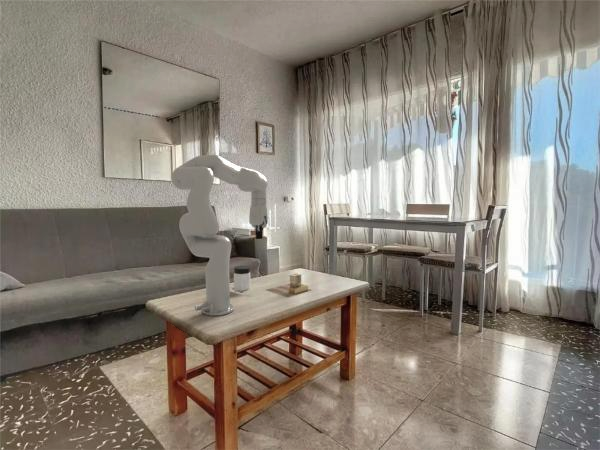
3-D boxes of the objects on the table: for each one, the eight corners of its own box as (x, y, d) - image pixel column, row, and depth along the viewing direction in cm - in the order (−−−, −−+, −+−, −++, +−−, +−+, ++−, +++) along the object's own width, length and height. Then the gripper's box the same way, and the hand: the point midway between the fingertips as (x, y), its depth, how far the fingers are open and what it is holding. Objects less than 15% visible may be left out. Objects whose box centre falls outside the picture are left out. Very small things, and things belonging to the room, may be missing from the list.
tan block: (294, 292, 151) (294, 276, 150) (289, 290, 153) (289, 274, 153) (301, 290, 154) (301, 274, 154) (296, 289, 157) (296, 273, 156)
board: (288, 299, 143) (287, 297, 143) (265, 292, 155) (265, 289, 155) (313, 292, 155) (313, 289, 155) (290, 285, 167) (290, 283, 167)
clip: (294, 294, 148) (294, 289, 148) (289, 292, 151) (289, 287, 150) (307, 290, 154) (307, 285, 154) (302, 288, 157) (302, 284, 157)
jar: (237, 293, 153) (236, 269, 152) (231, 289, 160) (230, 266, 159) (253, 290, 158) (253, 267, 157) (247, 287, 165) (247, 264, 164)
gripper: (244, 202, 158) (244, 238, 159) (261, 202, 148) (261, 240, 149) (256, 202, 164) (256, 237, 165) (274, 202, 153) (274, 239, 154)
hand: (259, 238), depth 157 cm, fingers closed
